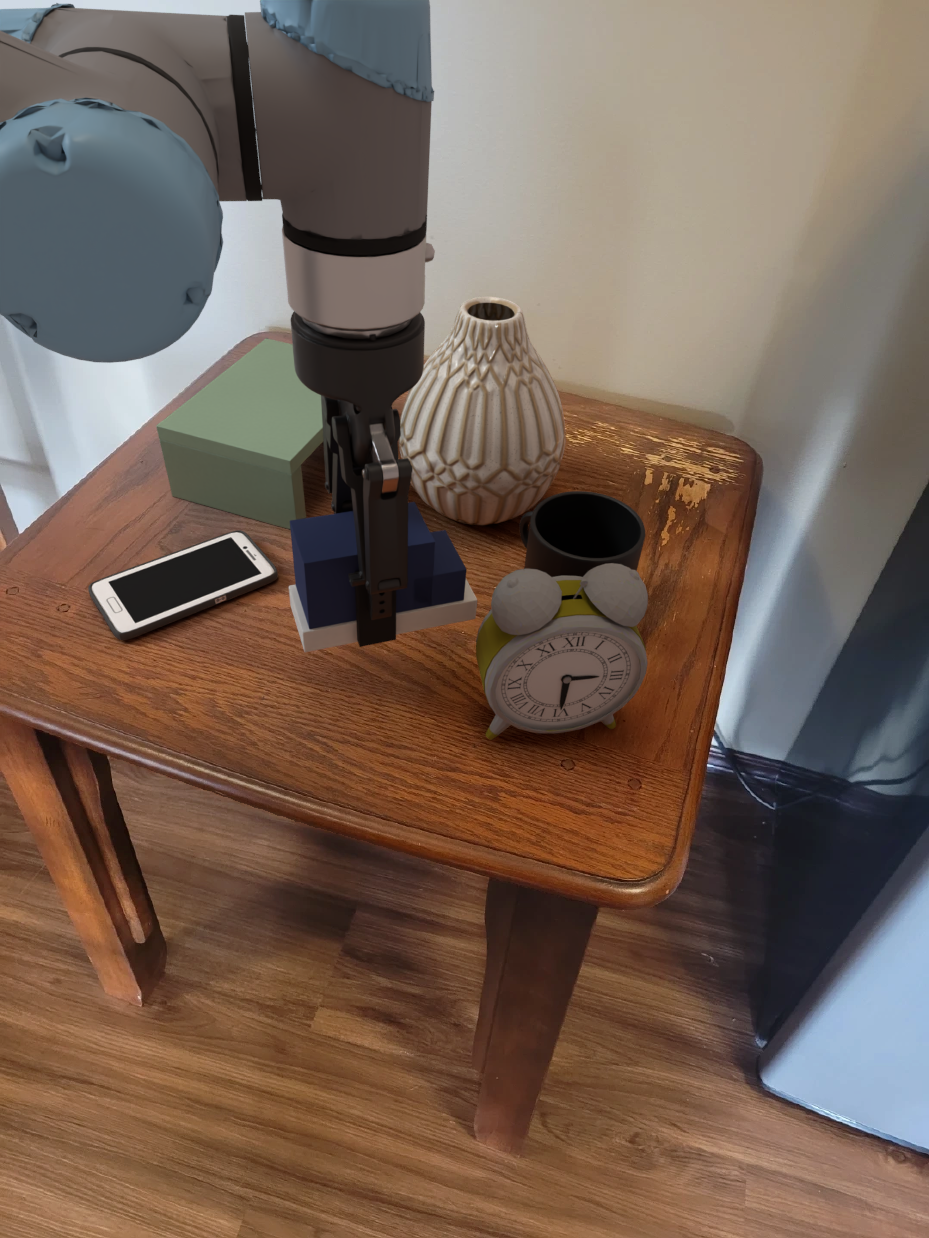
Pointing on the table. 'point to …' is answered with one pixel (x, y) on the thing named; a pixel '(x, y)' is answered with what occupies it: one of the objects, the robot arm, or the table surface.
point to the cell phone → (181, 584)
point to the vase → (483, 419)
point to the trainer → (332, 555)
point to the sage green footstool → (246, 438)
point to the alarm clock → (562, 648)
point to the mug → (581, 534)
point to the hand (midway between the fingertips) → (366, 612)
